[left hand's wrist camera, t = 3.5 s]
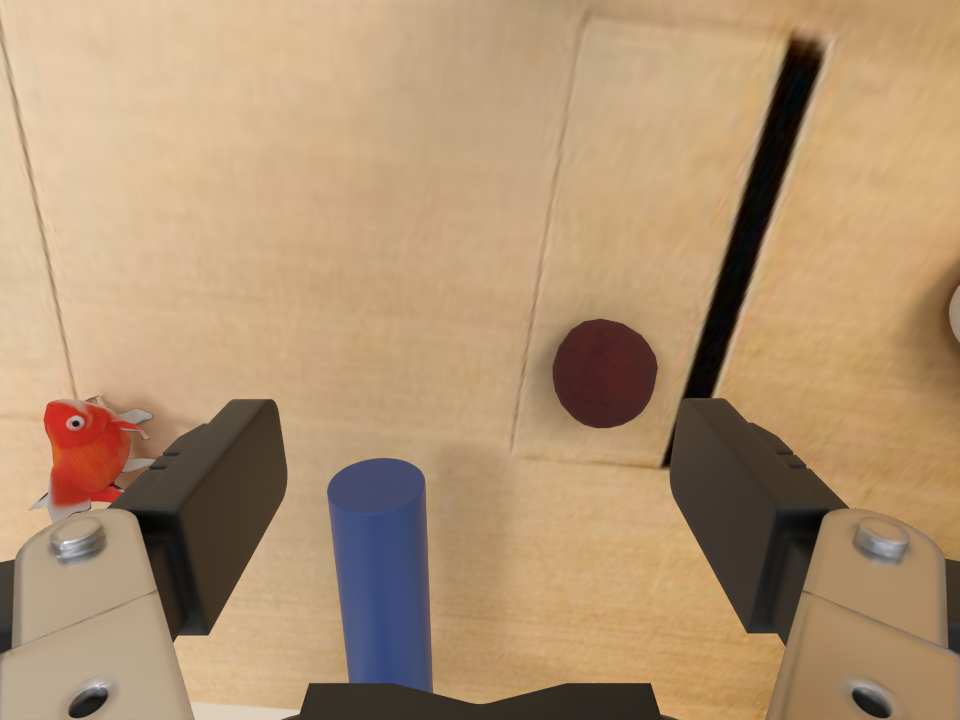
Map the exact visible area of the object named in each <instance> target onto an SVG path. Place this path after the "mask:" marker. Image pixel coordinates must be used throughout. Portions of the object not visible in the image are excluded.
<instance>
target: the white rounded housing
mask: <svg viewBox="0 0 960 720" xmlns="http://www.w3.org/2000/svg"><path fill="white" fill-rule="evenodd" d="M949 318H950V323H951V327H952V330H953V333H954V335H955V337H956V338H957V340H958V341H959V343H960V285H959V286H958V288H957V289H956V291H955V293H954V295H953V297H952V300H951V303H950V308H949Z"/></svg>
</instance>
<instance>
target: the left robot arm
mask: <svg viewBox="0 0 960 720" xmlns="http://www.w3.org/2000/svg"><path fill="white" fill-rule="evenodd" d="M670 485H671V490H672V494H673V497H674V499H675V501H676V503H677V505H678V507H679V508H680V510H681V512H682V514H683V516H684V518H685V519H686V521H687V523H688V525H689V527H690V529H691V530H692V532H693V534H694V536H695V538H696V540H697V542H698V543H699V545H700V547H701V549H702V551H703V553H704V554H705V556H706V558H707V560H708V562H709V564H710V565H711V567H712V569H713V571H714V573H715V575H716V577H717V578H718V580H719V582H720V584H721V586H722V588H723V589H724V591H725V593H726V595H727V597H728V599H729V601H730V602H731V604H732V606H733V608H734V610H735V612H736V613H737V615H738V617H739V619H740V621H741V623H742V624H743V626H744V628H745V630H746V632H747V633H778V635H779V637H780V638H781V640H782V642H783V643H784V645H785V647H786V649H785V652H784V656H783V659H782V663H781V666H780V670H779V673H778V677H777V680H776V684H775V688H774V691H773V695H772V698H771V702H770V705H769V709H768V712H767V716H766V719H765V720H960V562H959V561H954V560H949V559H945V558H944V555H943V553H942V552H941V550H940V549H939V547H938V546H937V545H936V544H935V543H934V542H933V541H932V540H931V539H930V538H928V537H927V536H926V535H924V534H923V533H922V532H920V531H918V530H917V529H915V528H914V527H912V526H910V525H908V524H906V523H904V522H902V521H900V520H897V519H895V518H892V517H889V516H887V515H884V514H880V513H877V512H873V511H868V510H862V509H850V508H849V507H848V506H847V505H846V504H845V503H844V502H843V501H842V500H841V499H840V498H839V497H838V496H837V495H836V494H835V493H834V492H833V491H832V490H831V489H830V488H829V487H828V486H827V485H826V484H825V483H824V482H823V481H822V480H821V479H820V478H819V477H818V476H817V475H816V474H815V473H814V472H813V471H812V470H811V469H807V468H806V464H805V463H804V462H803V461H802V460H801V459H800V458H799V457H798V456H797V455H793V451H792V450H791V449H790V448H789V447H788V446H787V445H786V444H785V443H784V442H783V441H782V440H781V439H780V438H778V437H777V436H776V435H774V434H772V433H770V432H769V431H767V430H765V429H763V428H761V427H760V426H758V425H756V424H754V423H748V422H747V421H746V420H745V419H744V418H743V417H742V416H741V415H740V414H739V413H738V412H737V411H736V410H735V409H734V407H733V406H732V405H731V404H730V403H729V402H728V401H727V400H726V399H722V398H685V399H684V400H683V401H682V402H681V404H680V407H679V411H678V417H677V423H676V430H675V437H674V444H673V450H672V457H671V464H670ZM286 486H287V464H286V458H285V451H284V444H283V438H282V431H281V424H280V418H279V412H278V408H277V405H276V403H275V401H273V400H272V399H233V400H231V401H230V402H229V403H228V404H227V405H226V406H225V407H224V408H223V409H222V410H221V411H220V412H219V413H218V414H217V415H216V416H215V417H214V418H213V419H212V420H211V421H210V422H209V423H208V424H202V425H200V426H199V427H197V428H195V429H193V430H191V431H189V432H188V433H186V434H184V435H182V436H180V437H179V438H178V439H177V440H176V441H175V442H174V443H173V444H172V445H171V446H170V447H169V448H168V449H167V450H166V451H165V452H164V453H163V456H160V457H159V458H157V459H156V460H155V461H154V462H153V463H152V464H151V465H150V469H149V470H145V471H144V472H143V473H142V474H141V475H140V476H139V477H138V478H137V479H136V480H135V481H134V482H133V483H132V484H131V485H130V486H129V487H128V488H127V489H126V490H125V491H124V492H123V493H122V494H121V495H120V496H119V497H118V498H117V499H116V500H115V501H114V502H113V503H112V504H111V505H110V506H109V507H108V508H107V509H98V510H92V511H87V512H83V513H80V514H76V515H73V516H71V517H68V518H65V519H63V520H60V521H58V522H56V523H54V524H52V525H50V526H48V527H46V528H45V529H43V530H42V531H40V532H38V533H37V534H36V535H34V536H33V537H32V538H30V539H29V540H28V541H27V542H26V543H25V544H24V545H23V546H22V547H21V549H20V550H19V552H18V553H17V555H16V558H15V560H10V561H5V562H0V720H195V719H194V716H193V712H192V709H191V705H190V702H189V698H188V695H187V691H186V688H185V684H184V680H183V677H182V673H181V670H180V666H179V663H178V659H177V656H176V652H175V649H174V645H173V642H174V641H175V639H176V638H177V636H178V635H209V633H210V631H211V630H212V628H213V626H214V624H215V622H216V620H217V619H218V617H219V615H220V613H221V611H222V610H223V608H224V606H225V604H226V602H227V600H228V599H229V597H230V595H231V593H232V591H233V589H234V588H235V586H236V584H237V582H238V580H239V579H240V577H241V575H242V573H243V571H244V569H245V568H246V566H247V564H248V562H249V560H250V559H251V557H252V555H253V553H254V551H255V549H256V548H257V546H258V544H259V542H260V540H261V538H262V537H263V535H264V533H265V531H266V529H267V528H268V526H269V524H270V522H271V520H272V518H273V517H274V515H275V513H276V511H277V509H278V508H279V506H280V504H281V502H282V500H283V498H284V495H285V491H286ZM282 720H678V719H675V718H672V717H669V716H665V715H662V714H660V712H659V708H658V705H657V702H656V699H655V696H654V692H653V689H652V686H651V683H566V684H562V685H558V686H554V687H550V688H547V689H543V690H539V691H535V692H531V693H527V694H523V695H519V696H515V697H511V698H507V699H503V700H500V701H496V702H492V703H487V704H473V703H468V702H464V701H460V700H457V699H453V698H449V697H445V696H441V695H437V694H433V693H429V692H425V691H421V690H417V689H413V688H410V687H406V686H402V685H398V684H394V683H309V686H308V689H307V692H306V696H305V699H304V702H303V705H302V708H301V712H300V714H299V715H295V716H291V717H288V718H285V719H282Z"/></svg>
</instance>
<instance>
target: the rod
mask: <svg viewBox="0 0 960 720" xmlns="http://www.w3.org/2000/svg"><path fill="white" fill-rule="evenodd" d="M327 493H328V502H329V511H330V519H331V528H332V537H333V545H334V554H335V562H336V571H337V580H338V588H339V597H340V605H341V614H342V623H343V631H344V640H345V648H346V657H347V666H348V674H349V683H394V684H398V685H402V686H406V687H410V688H413V689H417V690H421V691H425V692H429V693H433V682H432V654H431V627H430V600H429V572H428V545H427V518H426V490H425V478H424V475H423V474H422V472H421V471H420V470H419V469H418V468H417V467H416V466H414V465H412V464H410V463H408V462H405V461H402V460H398V459H390V458H378V459H370V460H365V461H361V462H358V463H355V464H352V465H350V466H348V467H346V468H344V469H343V470H341V471H340V472H338V473H337V474H336V475H335V476H334V477H333V478H332V480H331V481H330V483H329V486H328V490H327Z"/></svg>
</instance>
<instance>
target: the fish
mask: <svg viewBox="0 0 960 720" xmlns="http://www.w3.org/2000/svg"><path fill="white" fill-rule="evenodd" d="M96 397H98V396H96ZM96 397H93V398H90V399H88V400H86V401H79V400H69V399H62V400H56V401H53V402H50V403H48V404H47V407H46V412H45V416H44V424H45V430H46V433H47V435H48V437H49V439H50V441H51V444H52V452H53V463H54V466H53V468H52V471H51V476H50V483H49V491H48V493H46V494H45V495H44V496H43V497H42V498H41V499H40V500H39V501H38V502H37V503H36V504H35V505H33V506H32V507H31V508H30V509H29V510H33V509H37V508H41V507H46V506H47V508H48V511H49V514H50V517H51V520H52V522H53V524H54V523H56V522H58V521H60V520H63V519H65V518H68V517H70V516H71V515H73V514H75V513H81V512H85V511H88V510H90V509H91V501H101V502H110V503H113V502H114V501H115V500H116V499H117V498H118V497H119V496H120V495H121V494H122V493H123V492H124V491H125V490H123V489H122V488H120V487H118V486H117V485H115V483H114V480H115V479H116V478H117V477H118V475H119V474H120V473H128V472H132V471H135V470H139V469H142V468H145V467H149V466H150V465H151V464H152V463H153V462H154V461H155V460H156V459H145V458H144V459H129V458H128V457H129V451H130V434H129V431H139V432H141V434H142V436H143V438H142V439H143V440H147V439H150V438H149V436H148V435H147V434H146V433H145V432H144V430H143V429H141V428H140V427H139V426H137V424H139V423H141V422H143V421H146V420H149V419H151V418H152V415H151V414H150V413H148V412H145V411H142V410H140V409H133V410H130V411H128V412H126V413H123V414H116V413H115V412H114V411H112V410H111V409H109V408H107V407H104V406H101V405H98V404H97V401H96ZM29 510H28V511H29Z"/></svg>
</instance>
